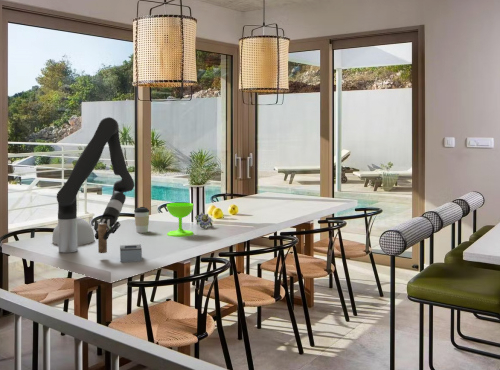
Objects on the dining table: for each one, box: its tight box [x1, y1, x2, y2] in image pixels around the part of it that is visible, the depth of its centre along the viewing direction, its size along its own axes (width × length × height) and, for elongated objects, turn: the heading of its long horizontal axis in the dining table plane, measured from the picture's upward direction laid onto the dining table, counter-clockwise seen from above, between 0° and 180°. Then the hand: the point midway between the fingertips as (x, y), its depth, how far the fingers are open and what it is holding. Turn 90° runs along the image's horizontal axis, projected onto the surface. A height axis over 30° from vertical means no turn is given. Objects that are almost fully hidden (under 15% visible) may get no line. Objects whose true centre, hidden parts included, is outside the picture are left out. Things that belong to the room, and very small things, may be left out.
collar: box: [119, 244, 143, 263], centre depth 276 cm, size 10×10×6 cm
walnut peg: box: [97, 223, 108, 254], centre depth 276 cm, size 4×4×14 cm
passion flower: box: [194, 211, 214, 230], centre depth 362 cm, size 11×11×12 cm
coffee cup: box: [133, 206, 150, 234], centre depth 347 cm, size 9×9×15 cm
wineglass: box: [166, 202, 195, 238], centre depth 339 cm, size 16×16×18 cm
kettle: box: [51, 216, 95, 246], centre depth 320 cm, size 25×23×22 cm
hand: (100, 238), depth 275 cm, fingers closed on walnut peg, 4 cm apart
